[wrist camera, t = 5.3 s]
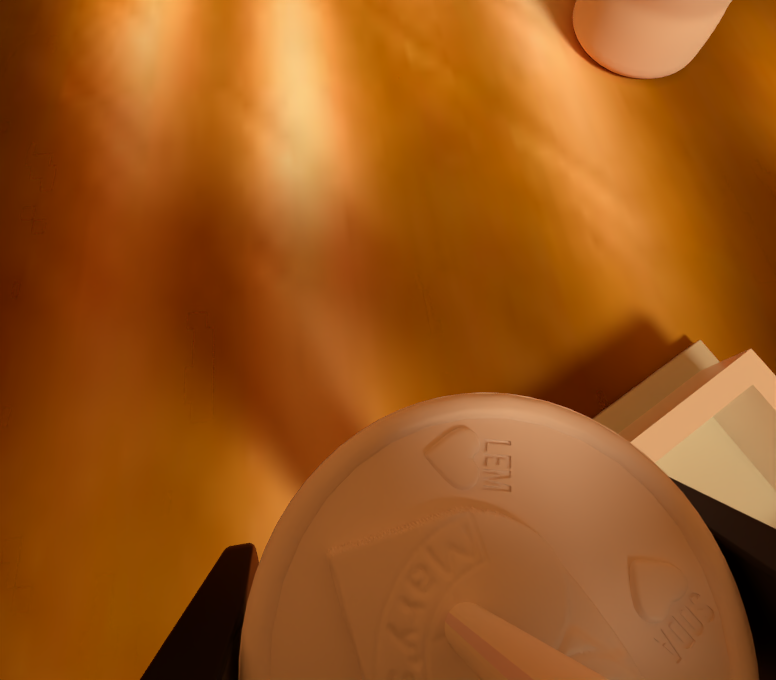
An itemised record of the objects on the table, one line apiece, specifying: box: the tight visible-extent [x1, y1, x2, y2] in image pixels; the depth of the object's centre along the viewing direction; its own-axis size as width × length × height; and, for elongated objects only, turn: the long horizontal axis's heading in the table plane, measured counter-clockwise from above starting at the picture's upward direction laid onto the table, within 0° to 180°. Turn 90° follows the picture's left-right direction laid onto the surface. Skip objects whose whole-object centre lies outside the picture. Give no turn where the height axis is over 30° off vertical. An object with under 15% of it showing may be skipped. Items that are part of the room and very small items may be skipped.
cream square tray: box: [592, 340, 776, 529], centre depth 19 cm, size 12×12×4 cm
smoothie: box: [239, 393, 759, 680], centre depth 9 cm, size 6×6×14 cm
